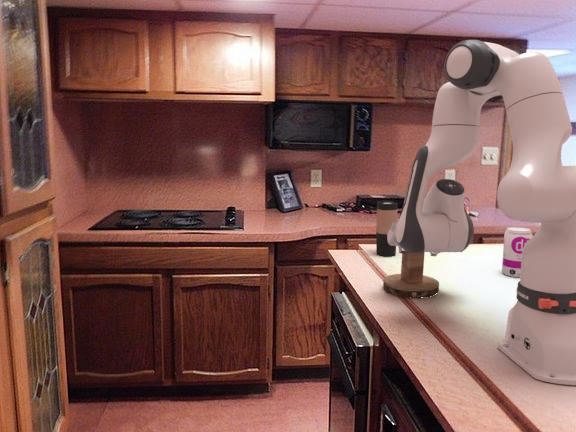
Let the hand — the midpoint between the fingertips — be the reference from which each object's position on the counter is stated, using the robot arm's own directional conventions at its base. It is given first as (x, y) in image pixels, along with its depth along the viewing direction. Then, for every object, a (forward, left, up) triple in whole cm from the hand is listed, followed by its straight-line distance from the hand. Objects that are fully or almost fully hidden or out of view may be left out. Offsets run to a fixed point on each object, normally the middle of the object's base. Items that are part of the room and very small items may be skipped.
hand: (416, 253), depth 147 cm
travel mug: (+41, +5, -11) cm, 43 cm away
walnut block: (-1, +1, -8) cm, 8 cm away
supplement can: (+17, -34, -11) cm, 40 cm away
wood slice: (-1, +2, -12) cm, 12 cm away
